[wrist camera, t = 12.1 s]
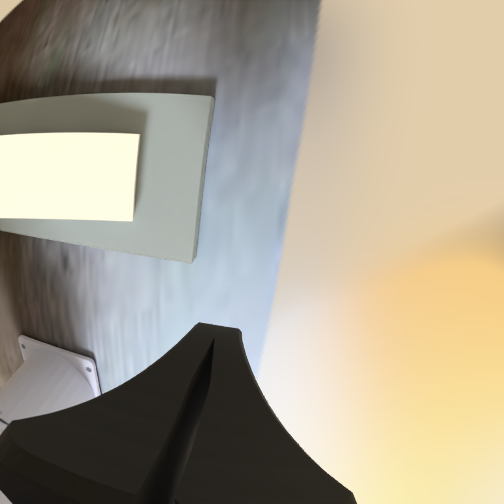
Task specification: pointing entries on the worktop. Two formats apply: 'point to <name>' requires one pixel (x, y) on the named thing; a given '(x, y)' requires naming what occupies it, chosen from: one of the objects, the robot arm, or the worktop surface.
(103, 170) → the head domino
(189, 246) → the board
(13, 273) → the worktop surface
